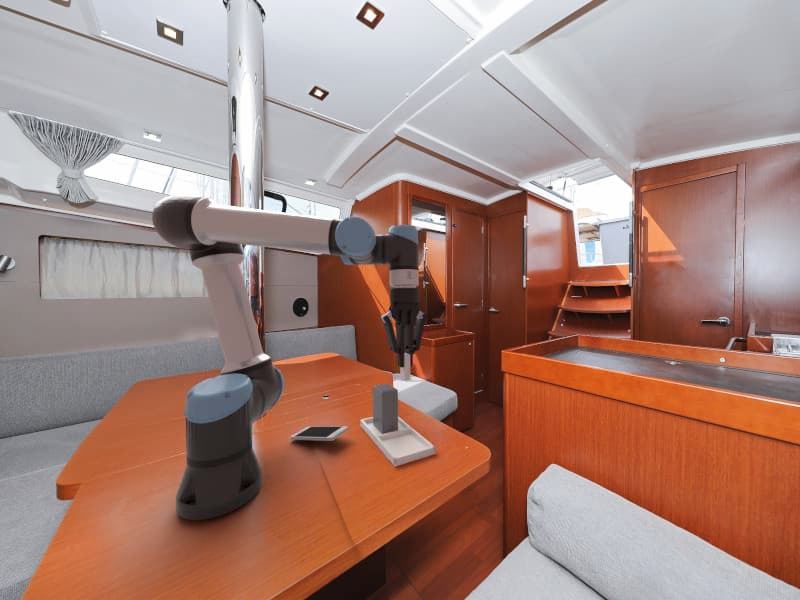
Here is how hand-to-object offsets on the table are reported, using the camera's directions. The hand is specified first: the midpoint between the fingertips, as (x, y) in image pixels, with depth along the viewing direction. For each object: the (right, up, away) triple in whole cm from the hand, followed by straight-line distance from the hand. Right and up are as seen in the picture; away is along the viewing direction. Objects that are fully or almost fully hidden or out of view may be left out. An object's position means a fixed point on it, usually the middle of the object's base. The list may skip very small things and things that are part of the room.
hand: (405, 378), depth 73 cm
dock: (-3, -19, +7) cm, 20 cm away
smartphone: (-17, -18, +3) cm, 25 cm away
